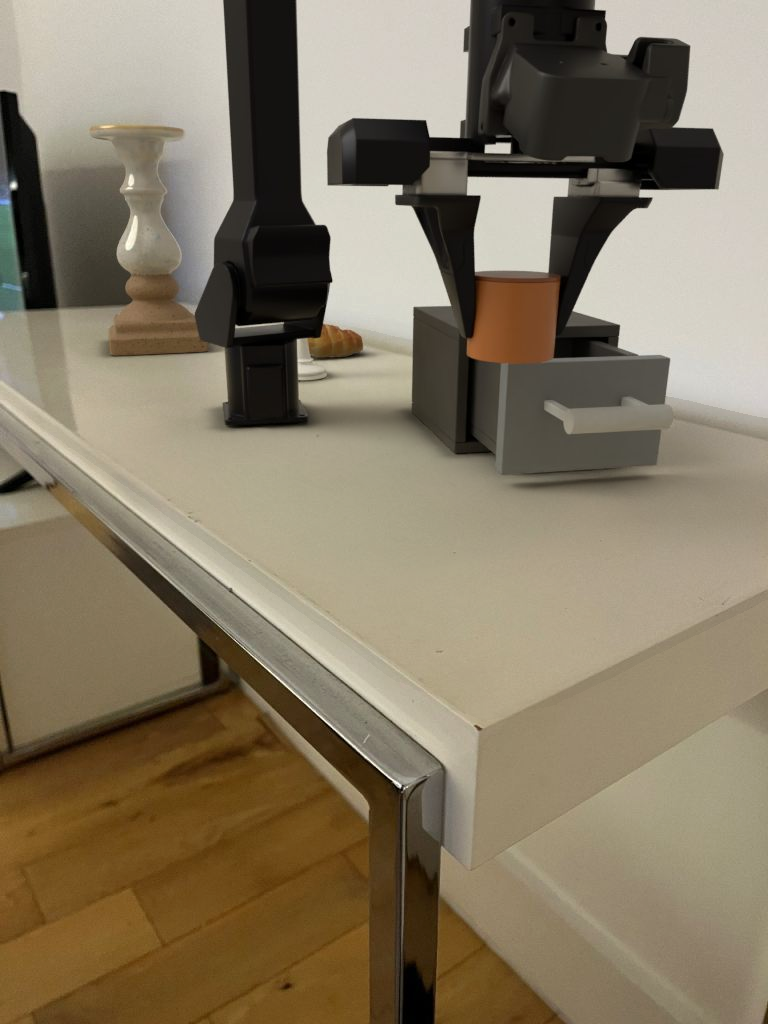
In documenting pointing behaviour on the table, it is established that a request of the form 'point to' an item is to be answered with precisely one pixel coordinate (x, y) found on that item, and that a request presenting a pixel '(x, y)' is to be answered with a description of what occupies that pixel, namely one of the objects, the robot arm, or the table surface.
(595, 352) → the drawer
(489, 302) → the cylinder
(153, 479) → the table surface
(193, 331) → the candle holder
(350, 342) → the pastry
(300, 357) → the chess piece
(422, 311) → the small drawer cabinet
